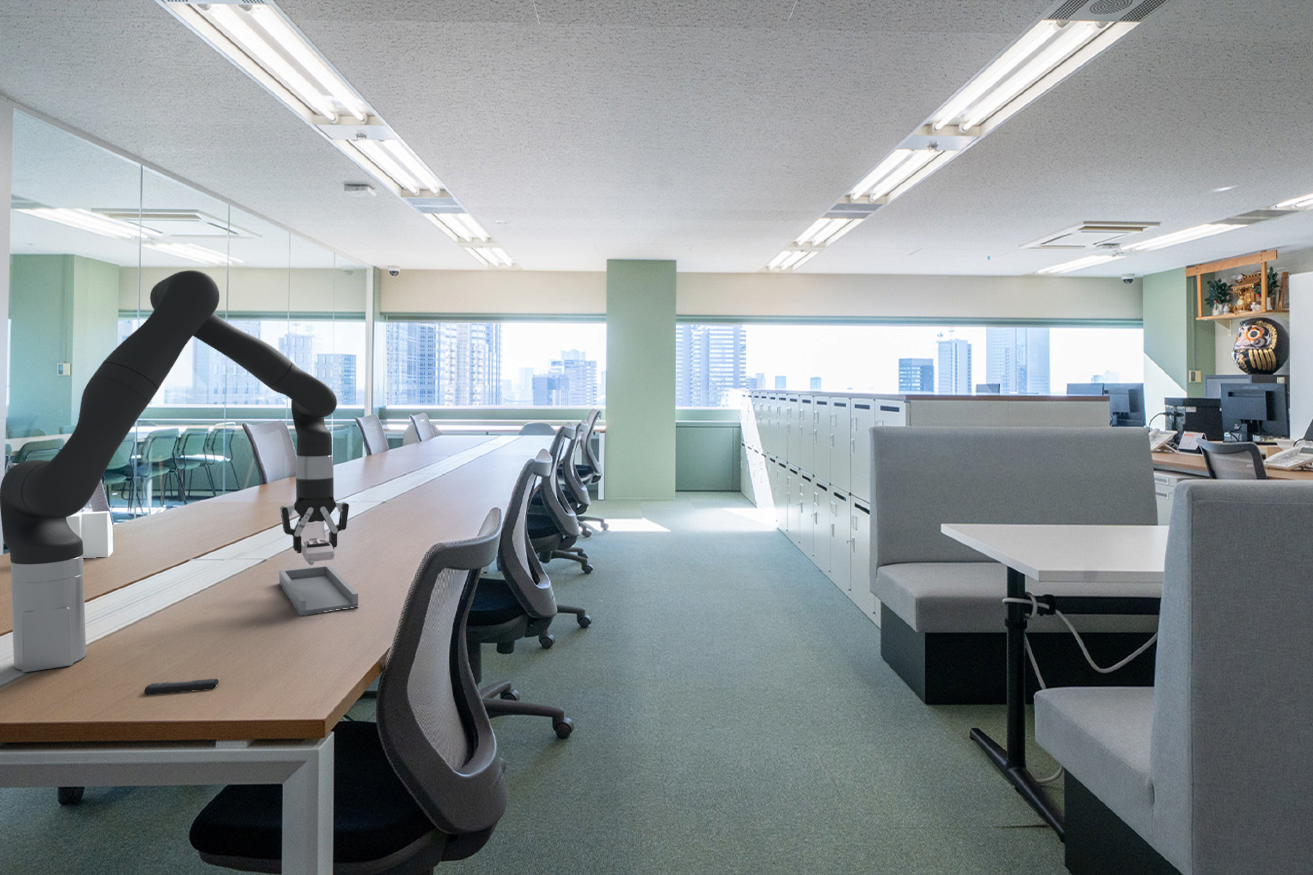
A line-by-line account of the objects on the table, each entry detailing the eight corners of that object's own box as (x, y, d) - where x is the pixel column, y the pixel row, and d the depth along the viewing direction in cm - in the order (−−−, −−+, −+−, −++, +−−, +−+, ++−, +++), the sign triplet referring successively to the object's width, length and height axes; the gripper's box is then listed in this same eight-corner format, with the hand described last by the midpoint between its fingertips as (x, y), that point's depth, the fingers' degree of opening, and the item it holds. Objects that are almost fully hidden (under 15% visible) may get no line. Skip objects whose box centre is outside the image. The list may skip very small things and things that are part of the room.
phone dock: (358, 607, 155) (358, 593, 155) (300, 615, 148) (300, 601, 148) (329, 577, 179) (329, 565, 179) (279, 583, 173) (279, 570, 173)
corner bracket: (54, 563, 189) (53, 517, 188) (64, 555, 199) (63, 510, 198) (106, 559, 194) (104, 514, 193) (113, 551, 204) (111, 508, 203)
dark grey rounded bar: (220, 685, 114) (220, 675, 114) (215, 692, 112) (215, 682, 112) (150, 690, 112) (149, 680, 111) (143, 697, 109) (143, 687, 109)
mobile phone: (323, 518, 176) (336, 536, 154) (324, 543, 176) (337, 564, 154) (295, 520, 173) (304, 539, 151) (296, 545, 173) (305, 567, 151)
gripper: (281, 479, 155) (282, 557, 156) (353, 475, 163) (353, 550, 164) (276, 475, 161) (277, 551, 162) (345, 472, 170) (346, 544, 171)
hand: (315, 550), depth 163 cm, fingers closed on mobile phone, 6 cm apart
